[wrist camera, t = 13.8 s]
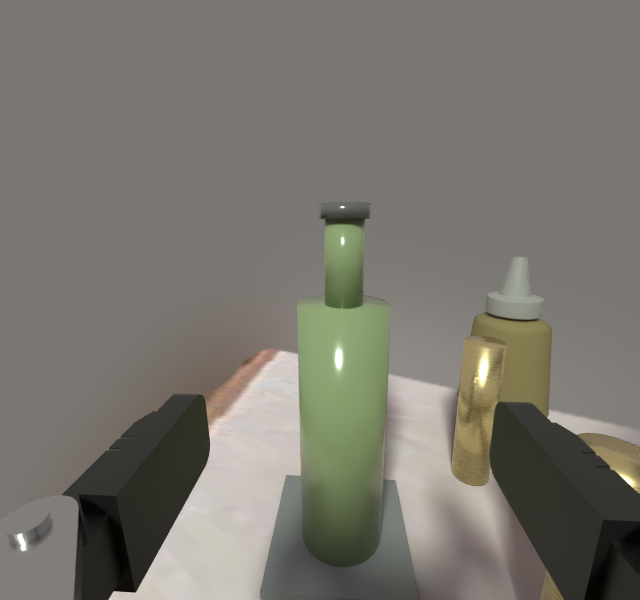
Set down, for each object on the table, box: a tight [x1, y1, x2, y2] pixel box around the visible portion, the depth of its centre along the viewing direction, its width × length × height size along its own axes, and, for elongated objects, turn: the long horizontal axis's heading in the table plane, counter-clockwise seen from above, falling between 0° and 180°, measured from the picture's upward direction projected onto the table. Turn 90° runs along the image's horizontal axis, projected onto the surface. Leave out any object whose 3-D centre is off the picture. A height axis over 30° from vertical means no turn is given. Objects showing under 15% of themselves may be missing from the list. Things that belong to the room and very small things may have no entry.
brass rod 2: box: [540, 433, 640, 600], centre depth 15 cm, size 3×3×12 cm
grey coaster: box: [260, 475, 419, 600], centre depth 23 cm, size 9×9×1 cm
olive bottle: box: [297, 202, 391, 567], centre depth 21 cm, size 5×5×22 cm
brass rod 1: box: [451, 336, 507, 486], centre depth 28 cm, size 3×3×12 cm
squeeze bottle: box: [457, 256, 552, 417], centre depth 32 cm, size 8×8×18 cm
